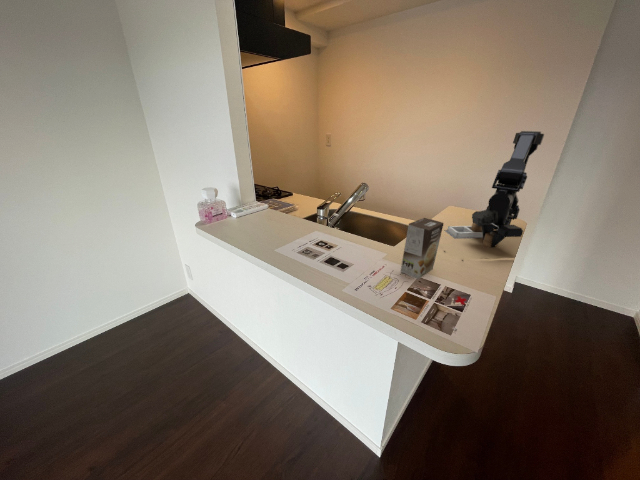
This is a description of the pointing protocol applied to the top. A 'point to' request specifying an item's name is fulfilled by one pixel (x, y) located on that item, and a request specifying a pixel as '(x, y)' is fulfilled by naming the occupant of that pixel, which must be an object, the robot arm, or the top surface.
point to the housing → (463, 232)
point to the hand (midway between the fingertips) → (488, 244)
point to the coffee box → (421, 247)
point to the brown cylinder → (488, 239)
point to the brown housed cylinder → (476, 228)
